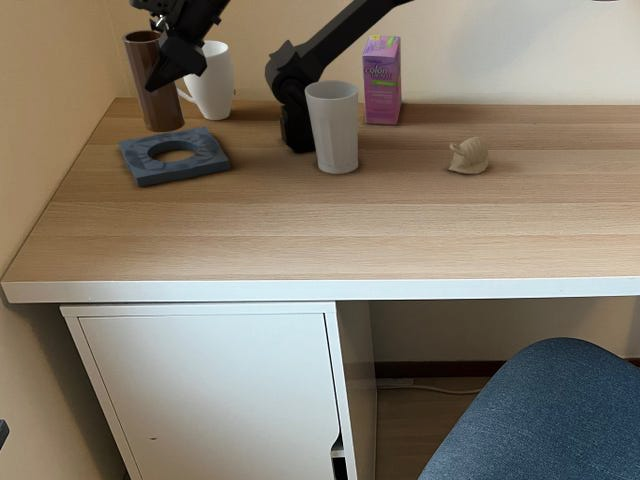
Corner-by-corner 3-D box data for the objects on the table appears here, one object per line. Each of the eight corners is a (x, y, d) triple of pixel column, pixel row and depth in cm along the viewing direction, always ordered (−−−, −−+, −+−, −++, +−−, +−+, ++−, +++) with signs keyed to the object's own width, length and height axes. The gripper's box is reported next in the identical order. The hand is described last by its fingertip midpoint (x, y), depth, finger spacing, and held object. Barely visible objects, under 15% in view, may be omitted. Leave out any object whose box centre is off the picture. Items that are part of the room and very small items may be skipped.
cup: (371, 159, 127) (367, 85, 119) (348, 179, 121) (342, 103, 113) (328, 150, 129) (321, 76, 121) (303, 170, 123) (294, 94, 115)
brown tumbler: (193, 122, 121) (173, 35, 112) (163, 135, 117) (140, 45, 108) (167, 113, 123) (145, 27, 114) (137, 126, 119) (113, 37, 110)
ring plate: (207, 134, 131) (206, 125, 130) (232, 169, 122) (230, 160, 121) (118, 150, 126) (116, 141, 125) (137, 188, 117) (134, 178, 116)
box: (397, 125, 137) (395, 56, 129) (365, 124, 137) (360, 54, 129) (402, 102, 145) (400, 35, 137) (372, 101, 144) (368, 34, 136)
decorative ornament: (495, 167, 126) (497, 135, 123) (455, 181, 122) (455, 149, 118) (479, 158, 128) (481, 127, 125) (439, 171, 124) (439, 139, 121)
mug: (243, 106, 141) (232, 40, 133) (238, 124, 135) (225, 57, 127) (175, 106, 140) (160, 40, 132) (166, 125, 133) (149, 57, 126)
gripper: (148, -63, 112) (89, 26, 116) (161, -29, 99) (94, 69, 103) (215, -7, 119) (158, 73, 124) (235, 30, 107) (170, 119, 111)
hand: (145, 82), depth 115 cm, fingers closed on brown tumbler, 6 cm apart
